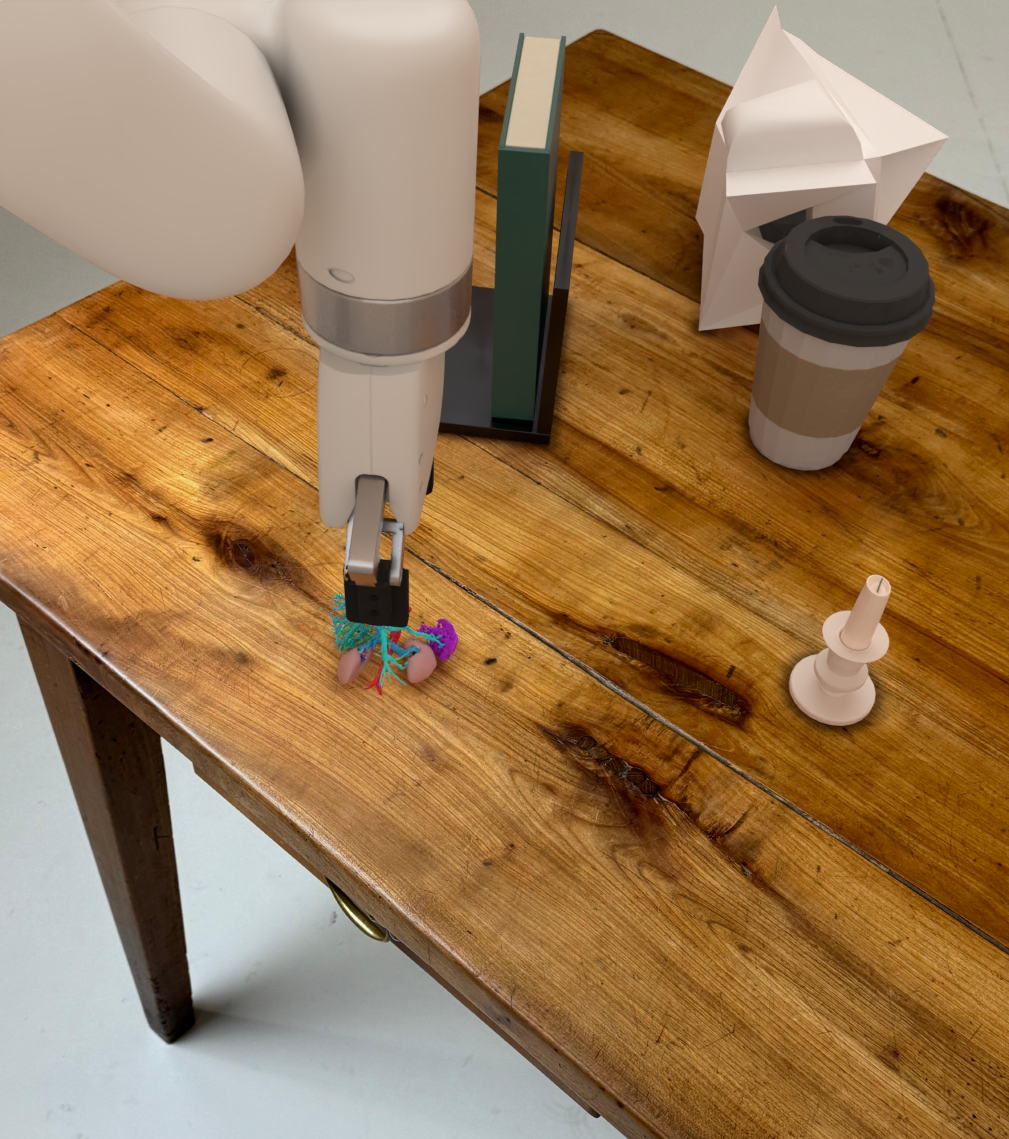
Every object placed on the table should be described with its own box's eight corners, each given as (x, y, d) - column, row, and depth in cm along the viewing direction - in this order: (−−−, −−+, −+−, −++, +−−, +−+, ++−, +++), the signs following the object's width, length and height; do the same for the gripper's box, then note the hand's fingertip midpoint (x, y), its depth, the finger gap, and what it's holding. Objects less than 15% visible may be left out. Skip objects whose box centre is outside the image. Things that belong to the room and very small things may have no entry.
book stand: (389, 427, 90) (388, 268, 80) (420, 290, 100) (423, 133, 89) (549, 445, 90) (569, 289, 79) (564, 306, 100) (584, 151, 89)
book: (498, 149, 74) (550, 153, 73) (519, 32, 82) (566, 35, 82) (490, 417, 89) (533, 420, 89) (509, 295, 98) (548, 298, 98)
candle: (888, 688, 78) (945, 574, 70) (847, 741, 76) (902, 629, 68) (814, 644, 80) (862, 528, 72) (772, 695, 78) (817, 580, 69)
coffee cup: (863, 390, 96) (929, 211, 84) (888, 497, 89) (963, 318, 77) (713, 380, 95) (758, 198, 84) (725, 487, 88) (776, 305, 77)
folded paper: (757, 141, 84) (996, 159, 87) (682, -27, 98) (889, -6, 102) (690, 351, 97) (900, 360, 100) (632, 176, 112) (817, 189, 115)
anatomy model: (436, 682, 71) (465, 583, 74) (297, 652, 71) (332, 556, 75) (437, 726, 75) (465, 631, 79) (306, 698, 76) (339, 605, 79)
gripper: (335, 166, 61) (350, 437, 75) (257, 406, 50) (291, 670, 64) (491, 182, 61) (478, 450, 74) (446, 426, 50) (440, 686, 64)
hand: (392, 552), depth 69 cm, fingers open, 9 cm apart
